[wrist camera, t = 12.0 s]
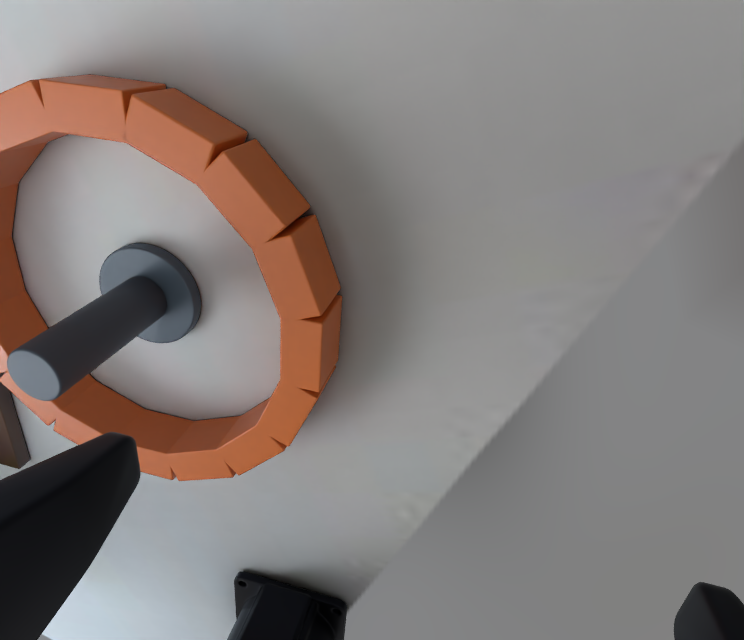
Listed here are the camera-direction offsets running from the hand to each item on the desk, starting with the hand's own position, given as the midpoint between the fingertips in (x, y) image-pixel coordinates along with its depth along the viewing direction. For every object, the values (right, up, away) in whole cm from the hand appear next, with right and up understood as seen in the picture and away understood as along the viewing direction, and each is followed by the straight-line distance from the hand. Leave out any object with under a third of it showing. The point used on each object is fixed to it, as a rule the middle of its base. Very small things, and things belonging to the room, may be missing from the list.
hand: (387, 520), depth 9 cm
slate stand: (-9, +4, +14) cm, 18 cm away
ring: (-9, +4, +14) cm, 18 cm away
